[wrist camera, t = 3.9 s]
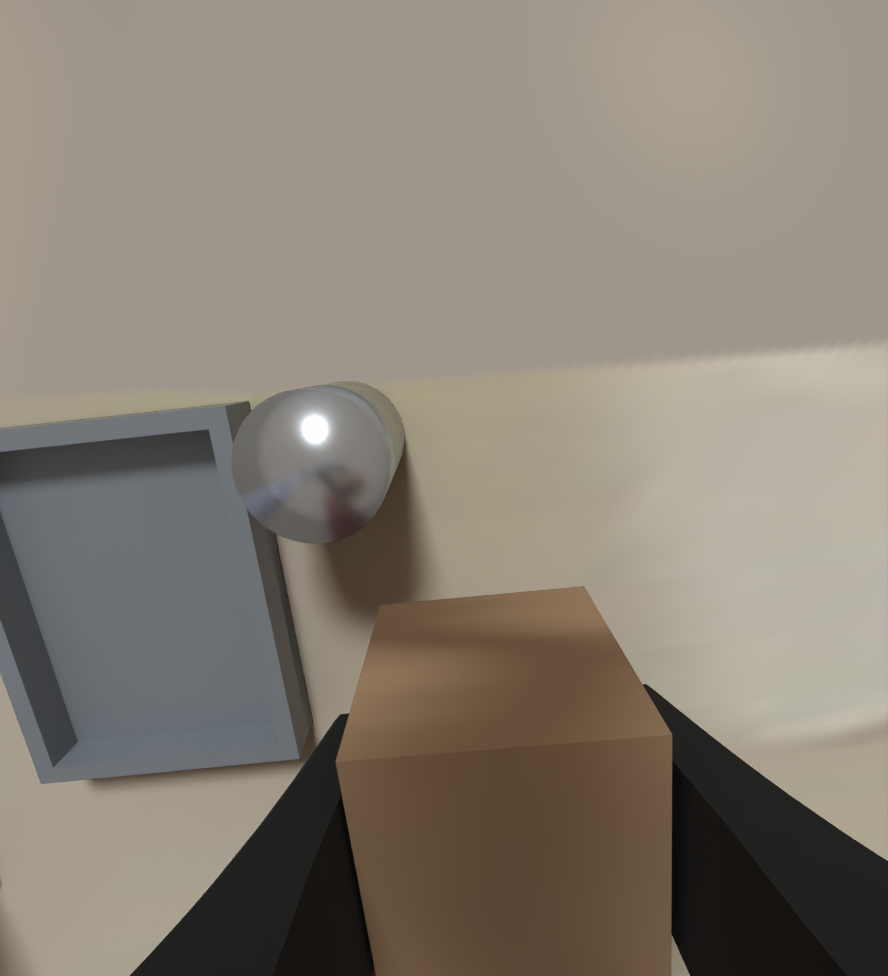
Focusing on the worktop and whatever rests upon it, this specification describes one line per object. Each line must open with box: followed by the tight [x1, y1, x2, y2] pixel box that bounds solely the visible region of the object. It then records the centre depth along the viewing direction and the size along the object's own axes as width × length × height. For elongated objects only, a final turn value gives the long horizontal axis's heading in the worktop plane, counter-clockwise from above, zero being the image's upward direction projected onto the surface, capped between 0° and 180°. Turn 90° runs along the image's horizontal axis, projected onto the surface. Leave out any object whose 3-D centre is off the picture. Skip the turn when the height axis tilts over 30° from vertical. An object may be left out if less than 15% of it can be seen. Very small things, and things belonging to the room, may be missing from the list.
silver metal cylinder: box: [231, 381, 405, 543], centre depth 14 cm, size 4×4×5 cm
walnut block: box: [336, 586, 672, 976], centre depth 8 cm, size 4×4×4 cm
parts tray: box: [0, 401, 312, 784], centre depth 17 cm, size 9×12×2 cm
